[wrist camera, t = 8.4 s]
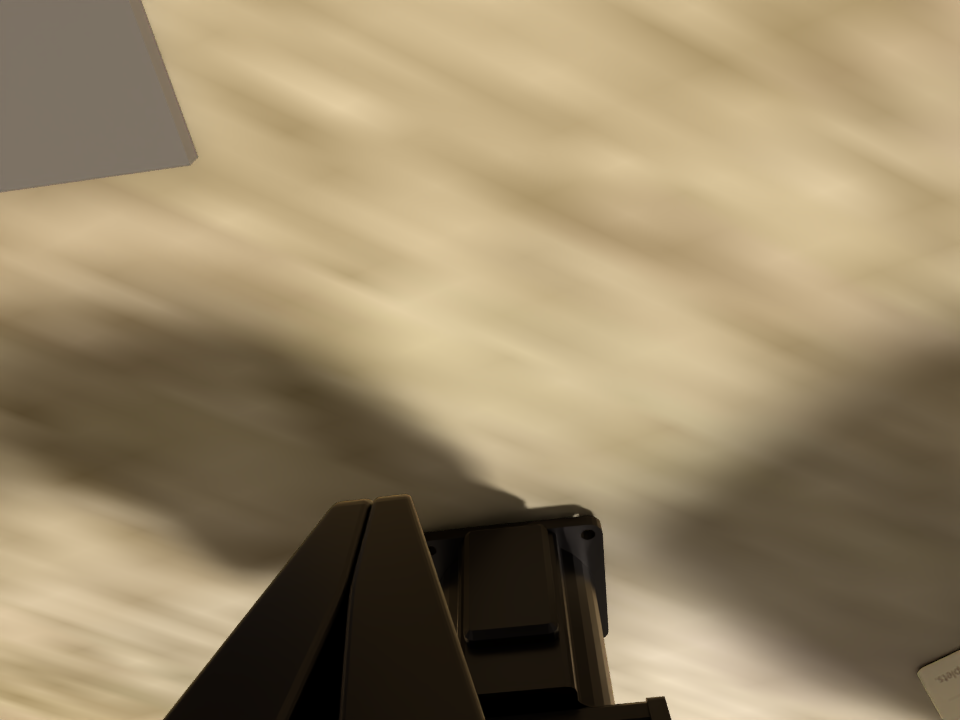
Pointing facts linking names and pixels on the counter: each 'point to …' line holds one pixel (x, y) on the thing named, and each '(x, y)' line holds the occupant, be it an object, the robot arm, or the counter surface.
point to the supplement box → (943, 685)
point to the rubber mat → (84, 94)
